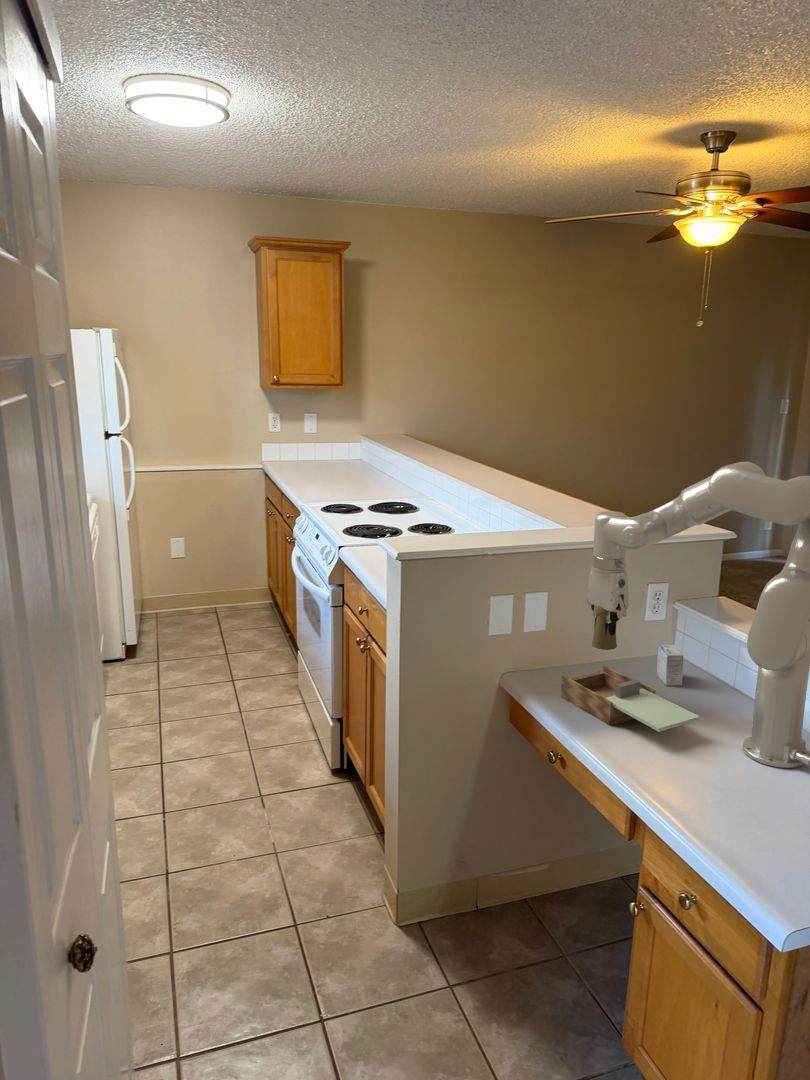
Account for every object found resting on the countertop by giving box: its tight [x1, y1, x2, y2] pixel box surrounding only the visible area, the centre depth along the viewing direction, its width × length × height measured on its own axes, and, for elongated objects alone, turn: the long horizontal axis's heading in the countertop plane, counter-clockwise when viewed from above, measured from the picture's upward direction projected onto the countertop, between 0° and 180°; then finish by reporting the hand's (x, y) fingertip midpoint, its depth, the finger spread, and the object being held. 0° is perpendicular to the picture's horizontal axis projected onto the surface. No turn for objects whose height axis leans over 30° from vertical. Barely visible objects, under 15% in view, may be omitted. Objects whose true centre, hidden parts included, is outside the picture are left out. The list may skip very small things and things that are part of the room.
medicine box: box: [656, 644, 684, 687], centre depth 201 cm, size 8×4×9 cm, turn 179°
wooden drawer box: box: [560, 665, 656, 726], centre depth 187 cm, size 18×14×6 cm
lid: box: [606, 679, 701, 733], centre depth 173 cm, size 18×12×4 cm
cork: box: [591, 605, 618, 651], centre depth 185 cm, size 6×6×11 cm
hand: (604, 634), depth 186 cm, fingers closed on cork, 2 cm apart
